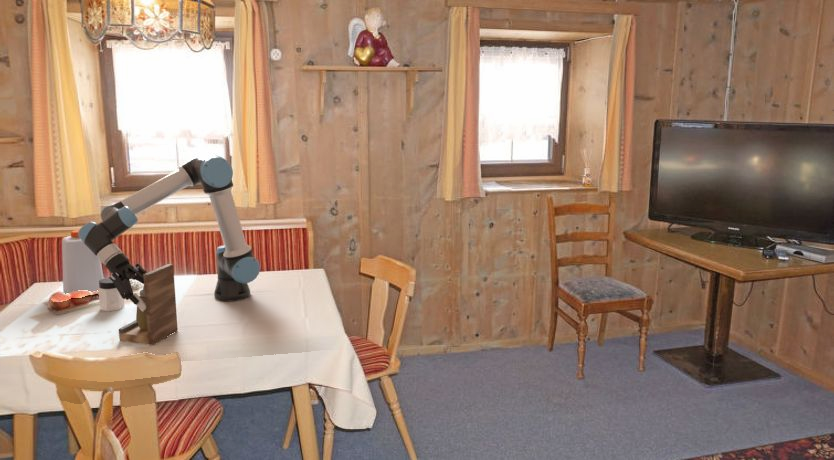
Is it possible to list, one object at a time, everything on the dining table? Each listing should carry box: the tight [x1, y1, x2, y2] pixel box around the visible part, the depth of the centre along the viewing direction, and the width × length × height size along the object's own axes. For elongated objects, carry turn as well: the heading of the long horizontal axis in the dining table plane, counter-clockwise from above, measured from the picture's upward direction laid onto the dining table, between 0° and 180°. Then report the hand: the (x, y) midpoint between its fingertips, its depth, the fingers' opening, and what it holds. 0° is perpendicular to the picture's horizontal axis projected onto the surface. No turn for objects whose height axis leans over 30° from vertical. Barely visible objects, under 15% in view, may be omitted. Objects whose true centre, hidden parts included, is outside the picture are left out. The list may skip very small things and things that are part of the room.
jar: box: [98, 277, 125, 312], centre depth 251 cm, size 9×8×12 cm
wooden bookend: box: [118, 263, 179, 346], centre depth 222 cm, size 14×14×26 cm
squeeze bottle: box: [135, 286, 148, 331], centre depth 222 cm, size 8×8×18 cm
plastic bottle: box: [61, 229, 105, 294], centre depth 268 cm, size 15×15×28 cm
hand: (154, 304), depth 222 cm, fingers open, 10 cm apart
